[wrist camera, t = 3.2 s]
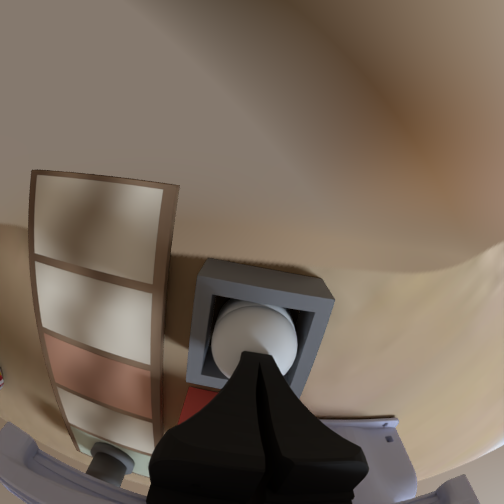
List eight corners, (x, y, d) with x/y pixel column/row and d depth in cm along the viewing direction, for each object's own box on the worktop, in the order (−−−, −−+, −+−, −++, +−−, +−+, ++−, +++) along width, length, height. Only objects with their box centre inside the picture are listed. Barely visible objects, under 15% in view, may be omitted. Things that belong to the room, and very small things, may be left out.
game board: (179, 185, 15) (176, 185, 14) (165, 477, 22) (164, 482, 22) (37, 169, 14) (31, 169, 14) (78, 446, 22) (76, 450, 21)
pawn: (132, 452, 20) (105, 522, 11) (136, 472, 21) (115, 534, 12) (89, 436, 20) (55, 498, 11) (98, 458, 21) (71, 515, 12)
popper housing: (322, 278, 16) (335, 299, 13) (293, 369, 18) (299, 399, 15) (208, 257, 16) (197, 275, 13) (195, 353, 17) (185, 381, 14)
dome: (300, 297, 16) (315, 338, 11) (282, 359, 17) (288, 408, 12) (223, 283, 16) (211, 321, 11) (212, 348, 17) (200, 395, 12)
